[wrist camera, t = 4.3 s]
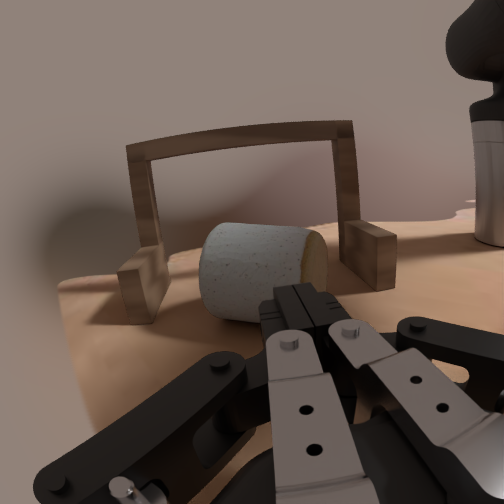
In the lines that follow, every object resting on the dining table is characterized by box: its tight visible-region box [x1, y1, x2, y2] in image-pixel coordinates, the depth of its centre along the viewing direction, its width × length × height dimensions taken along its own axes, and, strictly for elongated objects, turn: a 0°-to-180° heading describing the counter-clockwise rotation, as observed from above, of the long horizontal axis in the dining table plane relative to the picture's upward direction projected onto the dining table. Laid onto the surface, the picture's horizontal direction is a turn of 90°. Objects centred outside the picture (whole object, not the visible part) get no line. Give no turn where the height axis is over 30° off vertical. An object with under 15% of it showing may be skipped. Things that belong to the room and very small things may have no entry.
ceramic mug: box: [199, 223, 328, 323], centre depth 24 cm, size 11×8×8 cm
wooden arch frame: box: [117, 120, 397, 325], centre depth 28 cm, size 10×24×16 cm, turn 95°
